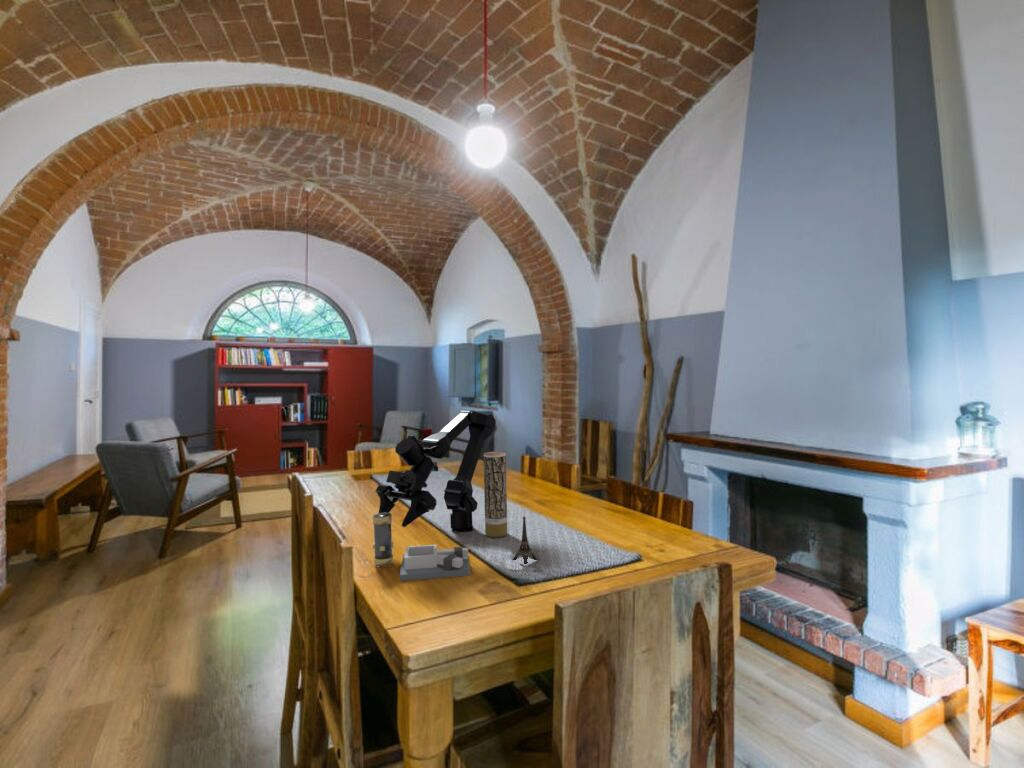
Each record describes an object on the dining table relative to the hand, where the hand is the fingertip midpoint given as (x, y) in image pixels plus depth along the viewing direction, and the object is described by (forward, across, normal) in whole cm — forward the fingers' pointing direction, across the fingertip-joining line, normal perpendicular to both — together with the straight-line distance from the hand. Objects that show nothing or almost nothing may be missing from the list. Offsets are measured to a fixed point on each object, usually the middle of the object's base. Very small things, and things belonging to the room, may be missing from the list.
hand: (390, 523), depth 137 cm
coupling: (+9, 0, +5) cm, 10 cm away
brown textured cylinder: (-15, +13, +29) cm, 35 cm away
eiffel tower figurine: (-5, +31, +20) cm, 37 cm away
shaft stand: (+5, +14, +9) cm, 17 cm away
